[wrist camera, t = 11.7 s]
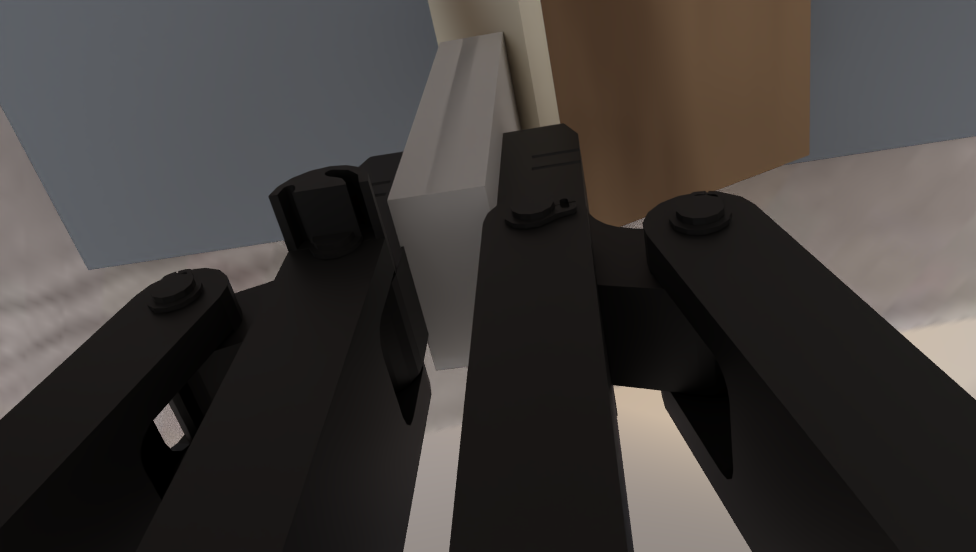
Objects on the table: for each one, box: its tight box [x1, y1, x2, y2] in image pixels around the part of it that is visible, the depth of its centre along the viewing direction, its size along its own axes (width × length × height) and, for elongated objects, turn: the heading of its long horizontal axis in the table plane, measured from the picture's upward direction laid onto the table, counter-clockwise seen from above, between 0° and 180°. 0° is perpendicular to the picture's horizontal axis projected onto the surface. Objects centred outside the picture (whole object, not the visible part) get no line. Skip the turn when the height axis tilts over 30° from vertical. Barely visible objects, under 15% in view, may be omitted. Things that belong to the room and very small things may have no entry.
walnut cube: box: [428, 0, 811, 227], centre depth 18 cm, size 6×6×6 cm
